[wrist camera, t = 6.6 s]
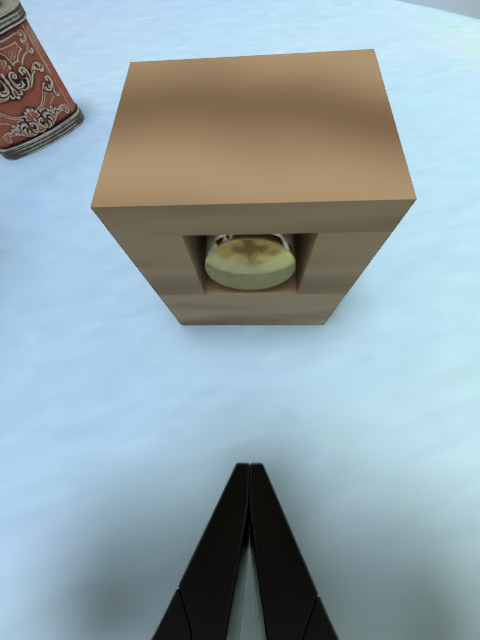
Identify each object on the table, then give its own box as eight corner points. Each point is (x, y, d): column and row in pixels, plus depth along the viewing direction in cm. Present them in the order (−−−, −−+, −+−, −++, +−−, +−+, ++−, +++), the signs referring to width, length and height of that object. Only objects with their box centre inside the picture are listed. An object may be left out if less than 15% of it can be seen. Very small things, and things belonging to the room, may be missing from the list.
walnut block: (323, 324, 16) (416, 198, 7) (181, 324, 17) (90, 207, 7) (314, 232, 19) (373, 49, 9) (190, 234, 19) (130, 62, 10)
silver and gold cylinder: (289, 289, 12) (303, 239, 9) (212, 290, 12) (196, 241, 9) (281, 151, 15) (289, 75, 12) (220, 153, 15) (211, 79, 12)
